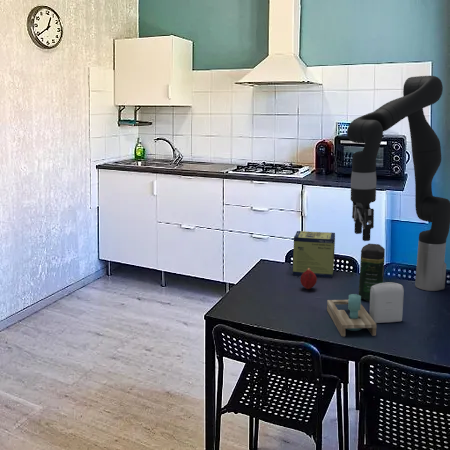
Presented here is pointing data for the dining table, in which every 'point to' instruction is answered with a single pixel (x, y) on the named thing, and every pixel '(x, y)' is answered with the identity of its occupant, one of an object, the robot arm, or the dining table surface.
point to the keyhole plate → (345, 322)
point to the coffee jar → (371, 268)
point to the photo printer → (386, 302)
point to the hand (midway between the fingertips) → (362, 237)
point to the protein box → (314, 253)
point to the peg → (354, 308)
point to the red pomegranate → (308, 279)
